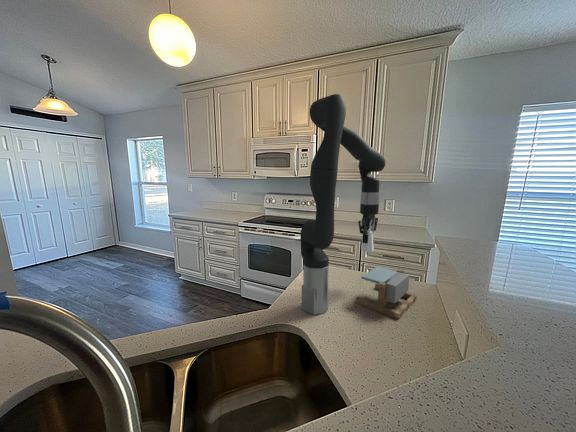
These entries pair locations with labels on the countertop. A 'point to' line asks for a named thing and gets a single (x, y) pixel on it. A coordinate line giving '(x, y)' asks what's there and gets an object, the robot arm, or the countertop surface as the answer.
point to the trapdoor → (389, 282)
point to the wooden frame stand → (382, 301)
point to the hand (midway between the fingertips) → (367, 241)
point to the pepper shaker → (368, 246)
